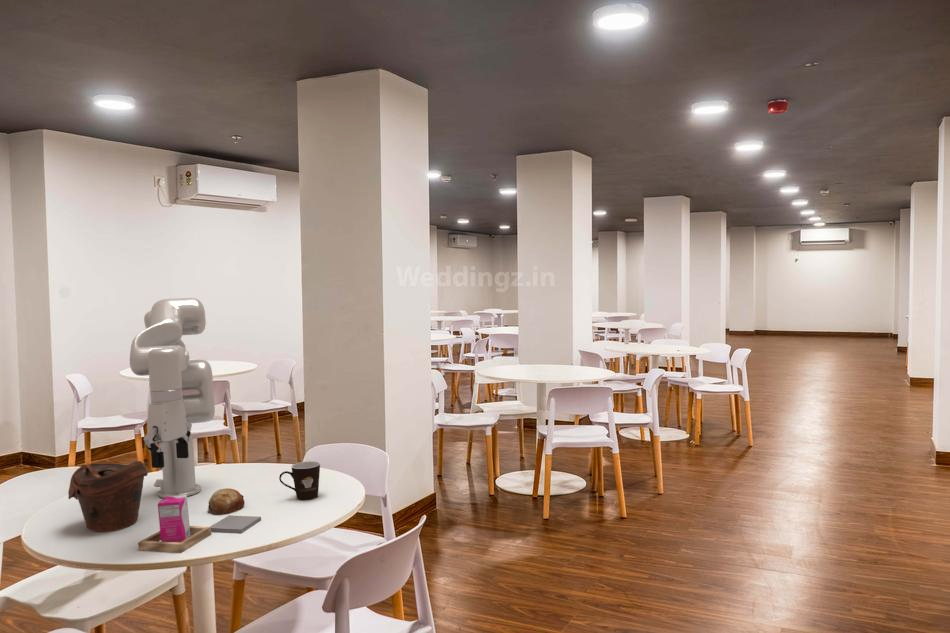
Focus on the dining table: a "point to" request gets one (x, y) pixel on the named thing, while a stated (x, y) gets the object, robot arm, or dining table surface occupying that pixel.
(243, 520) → the stone pad
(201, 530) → the oak pocket frame
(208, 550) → the dining table surface
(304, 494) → the coffee mug
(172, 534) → the supplement box
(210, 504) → the bread roll
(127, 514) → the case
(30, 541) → the dining table surface
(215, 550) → the dining table surface
